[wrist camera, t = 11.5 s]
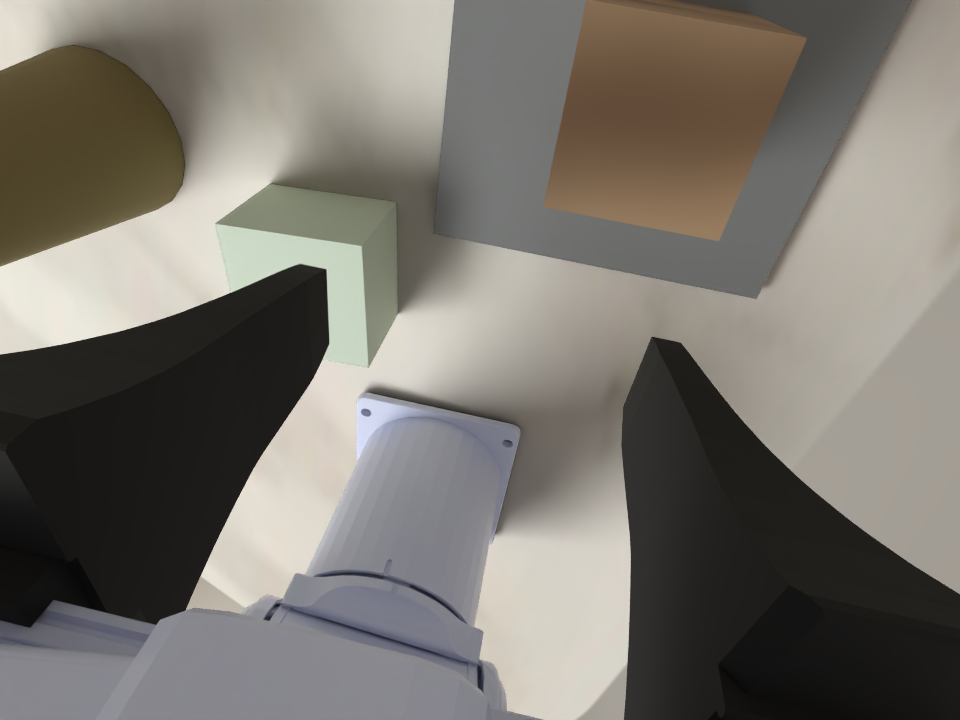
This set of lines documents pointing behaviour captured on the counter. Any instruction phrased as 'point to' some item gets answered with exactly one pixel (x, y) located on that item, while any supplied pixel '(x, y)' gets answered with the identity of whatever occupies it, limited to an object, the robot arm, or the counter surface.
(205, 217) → the counter surface
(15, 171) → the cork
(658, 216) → the walnut block
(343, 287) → the sage block
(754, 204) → the mat
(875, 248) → the counter surface
